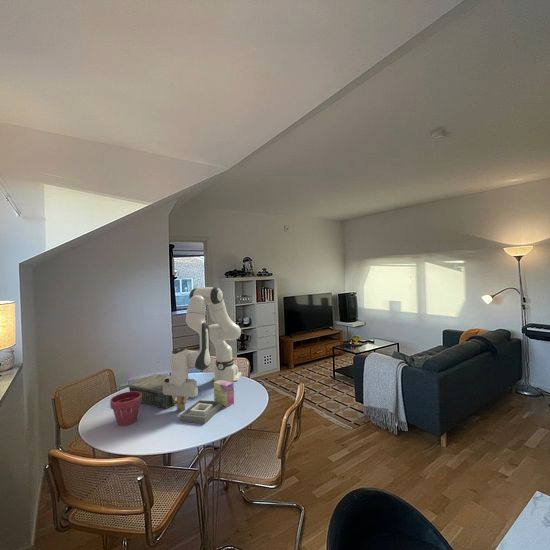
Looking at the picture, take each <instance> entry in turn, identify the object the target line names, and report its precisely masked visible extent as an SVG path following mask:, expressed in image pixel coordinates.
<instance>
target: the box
mask: <svg viewBox="0 0 550 550" xmlns="http://www.w3.org/2000/svg"><path fill="white" fill-rule="evenodd" d="M234 384H235V382H228V381H224V380H218V381H216V382H215V381H214V382H213V401H218V402H222V407H223V406H224V407H226V408H229V407H230V406H232V405H233V404H235V389H234V388H235V387H234V386H235V385H234Z"/></svg>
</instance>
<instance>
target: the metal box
mask: <svg viewBox="0 0 550 550" xmlns="http://www.w3.org/2000/svg"><path fill="white" fill-rule="evenodd" d="M168 376H169V375H163V374H160V373H159V374H157V373H156V374H152V375H150V376H147V377H144V378H141V379H139V380H137V381H134V382H133V383H129V384H128V389H129V390H128V391H129V392H130V391H138V392H140V393H141V394H142V401H141V403H140V404H144V405H147V406H148V405H149V406H153V407H156V408H160V409H164V410H168V409H169V408H170V407H173V406H174V405H176V404H175V402H174V399H173V398H172V396H171V395H164V394H163V383H164V382H163V379H164V378H166V377H168ZM176 397H177V396H176Z"/></svg>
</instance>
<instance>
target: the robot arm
mask: <svg viewBox="0 0 550 550" xmlns="http://www.w3.org/2000/svg"><path fill="white" fill-rule="evenodd" d="M188 298H189V301H188V305H187V308H186V314H185V323H186V325H187V326H188V327H189V328H190V329H192V330H193V331H195V332H196V333H197V334H198V335H199V350H191V349H187V348H186V347H183V346H181V347H180V346H179V347H177V348H174V349H173V350H172V351H171V354H170V369H171V372H170V375H167V376H168V377H166V378H164V379H163V382H164V383H163V394H164V395H171V396H172V398H173V399H174V402H175V405H177V397H176V396H182V397H184V398H185V400H184V401H183V404H185V405H187V404H188V400H189V398H195V397H197V396H198V395H199V389H198V381H197V380H195V379H194V378H189V369H195V370H199V371H205V370H206V369H208V368H209V366H210V365H211V362H212V355H211V349H210V348H211V346H210V343H212V344H213V346H214V348H215V367H214V373H213V374H214V375H213V376H214V377H212V380H213V381H214V382H216V381H218V380H224V381H228V382H232V383H235V382H238V381H239V380H240V379H241V376H242V374H243V373H242V372H241V371H239V367H238V366H237V365H236V364H235V360H236V358H235V357H233V348H232V346H231V345H229V344H228V343H227V342H226V341H235V340H238V339H239V338H240V337H241V334H242V329H241V327H240V326H239V324H236V323H235V322H234V321H233V320H232V319H231V318H230V316H229V314H228V312H227V311H228V310H227V307H226V303H225V300H224V291H223V290H222V289H221V288H220V287H217V286H214V287H212V286H204V287H196V288H192V289H191V291H190V292H189V297H188ZM207 307H208V311H209V314H210V315H209V316H210V318H211V321H213V324H208V323H207V321H206V312H207ZM210 341H211V342H210Z"/></svg>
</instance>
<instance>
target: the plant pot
mask: <svg viewBox="0 0 550 550" xmlns="http://www.w3.org/2000/svg"><path fill="white" fill-rule="evenodd" d="M141 401H142V394H141V393H140V392H138V391H130V390H129V391H125V392H122V393H119V394H116V395H115V396H113V397H111V398H110V403H109V404H110V409H111V410H112V411H113V415H114V418H115V421H116V423H117V425H118V426H119V427H125V426H129V425H132V424H134V423H135V422H137V420H138V418H139V410H140V405H141V404H142V403H141Z"/></svg>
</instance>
